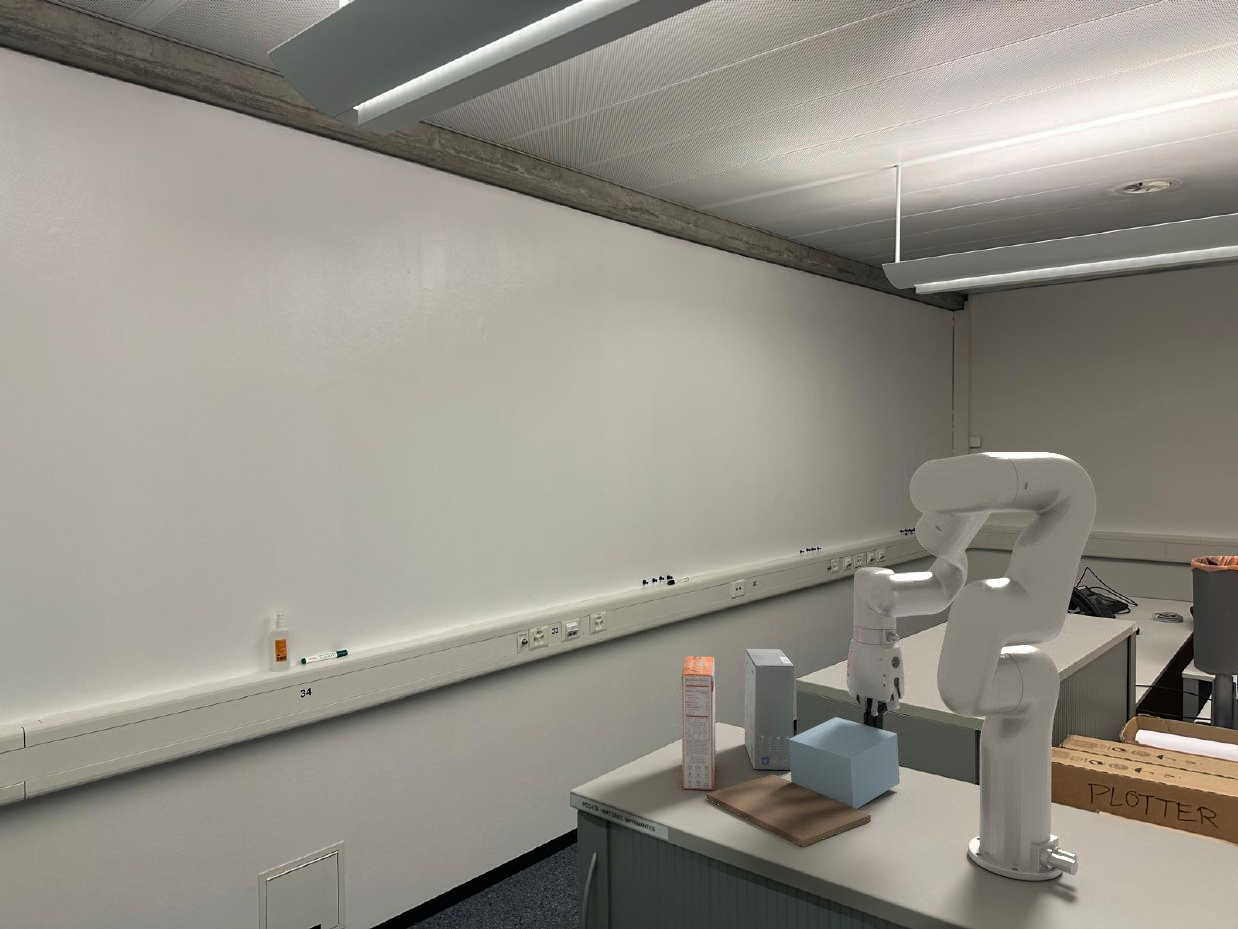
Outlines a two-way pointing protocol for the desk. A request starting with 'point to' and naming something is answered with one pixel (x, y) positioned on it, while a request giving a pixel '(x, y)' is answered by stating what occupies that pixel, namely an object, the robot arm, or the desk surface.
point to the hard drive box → (768, 708)
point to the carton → (845, 761)
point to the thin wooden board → (789, 809)
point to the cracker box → (698, 723)
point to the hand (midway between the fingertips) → (872, 734)
